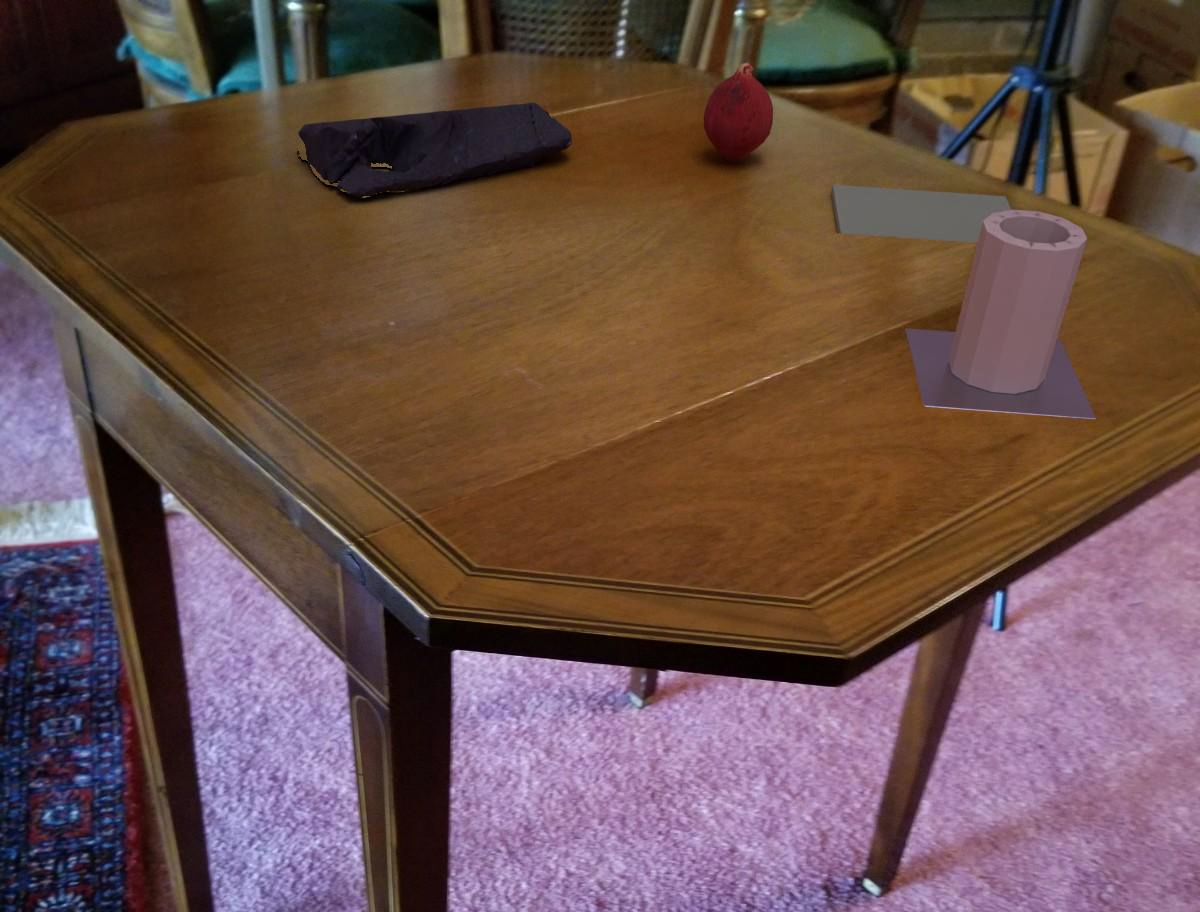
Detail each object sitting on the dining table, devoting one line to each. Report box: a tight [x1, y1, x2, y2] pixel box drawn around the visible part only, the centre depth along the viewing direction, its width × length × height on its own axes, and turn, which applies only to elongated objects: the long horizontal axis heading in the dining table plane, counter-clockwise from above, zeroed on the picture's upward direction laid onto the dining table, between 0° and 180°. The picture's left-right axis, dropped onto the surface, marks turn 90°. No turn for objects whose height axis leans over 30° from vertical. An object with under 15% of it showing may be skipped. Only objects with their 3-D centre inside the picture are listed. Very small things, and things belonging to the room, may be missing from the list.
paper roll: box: [949, 209, 1088, 394], centre depth 71 cm, size 6×6×9 cm
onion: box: [703, 62, 774, 163], centre depth 101 cm, size 6×6×8 cm
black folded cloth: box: [297, 102, 573, 198], centre depth 100 cm, size 15×22×5 cm
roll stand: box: [904, 327, 1097, 420], centre depth 72 cm, size 10×10×9 cm
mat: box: [830, 184, 1012, 244], centre depth 92 cm, size 14×18×1 cm
